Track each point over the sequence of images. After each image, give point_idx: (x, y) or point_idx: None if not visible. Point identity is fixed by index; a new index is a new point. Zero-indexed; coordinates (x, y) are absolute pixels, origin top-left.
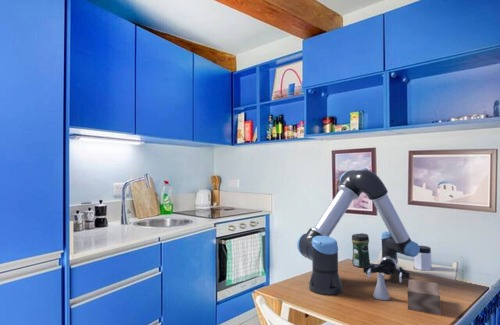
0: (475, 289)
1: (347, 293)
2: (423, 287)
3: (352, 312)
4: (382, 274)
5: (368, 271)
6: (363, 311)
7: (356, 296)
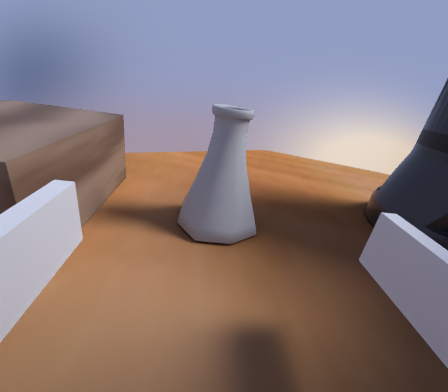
0: None
1: (348, 224)
2: (12, 118)
3: (260, 161)
4: (225, 113)
5: (408, 227)
6: None
7: (304, 212)
